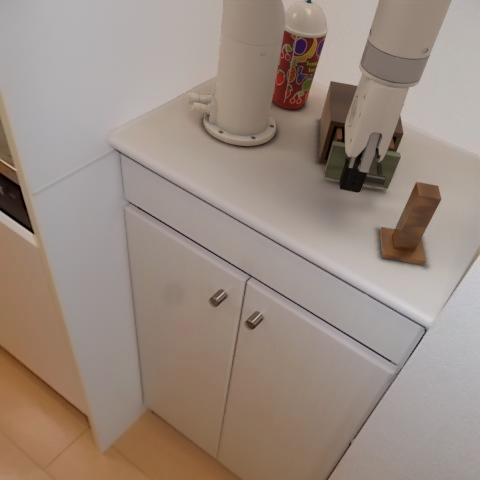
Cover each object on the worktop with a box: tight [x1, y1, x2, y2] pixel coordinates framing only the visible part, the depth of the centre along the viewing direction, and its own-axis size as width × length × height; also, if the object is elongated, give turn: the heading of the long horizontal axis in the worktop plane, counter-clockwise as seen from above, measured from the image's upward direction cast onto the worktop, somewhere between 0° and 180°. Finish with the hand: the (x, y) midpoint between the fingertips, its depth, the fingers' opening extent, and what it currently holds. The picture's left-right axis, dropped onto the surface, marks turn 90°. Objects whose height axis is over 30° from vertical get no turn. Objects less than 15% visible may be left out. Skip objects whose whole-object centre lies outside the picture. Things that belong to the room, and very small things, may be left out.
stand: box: [379, 181, 442, 266], centre depth 72 cm, size 6×6×10 cm
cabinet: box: [318, 80, 404, 165], centre depth 89 cm, size 14×12×8 cm
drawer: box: [323, 126, 402, 190], centre depth 83 cm, size 17×10×6 cm, turn 174°
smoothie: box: [272, 0, 329, 110], centre depth 92 cm, size 8×8×20 cm
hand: (349, 187), depth 77 cm, fingers closed
